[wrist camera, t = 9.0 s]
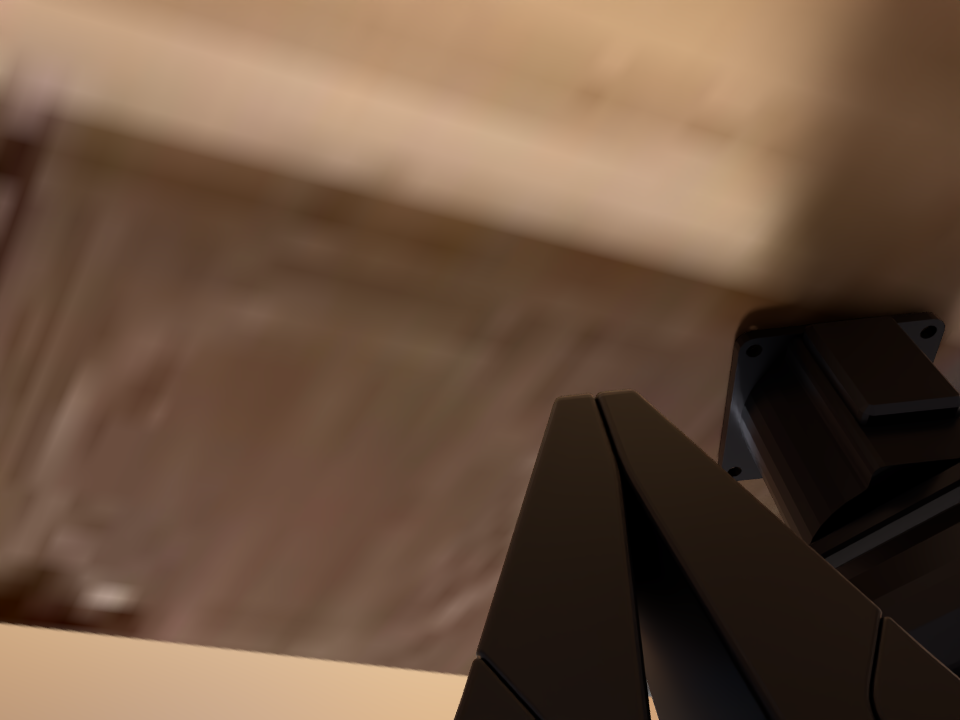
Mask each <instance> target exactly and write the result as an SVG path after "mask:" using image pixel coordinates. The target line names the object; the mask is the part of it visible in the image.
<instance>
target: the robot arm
mask: <svg viewBox="0 0 960 720" xmlns="http://www.w3.org/2000/svg"><path fill="white" fill-rule="evenodd" d="M927 326H928V328H927V329H925V330H923V329H924V328H925V327H927ZM922 330H923V331H922ZM944 330H945V325H944V323H943V321H942V320H941V319H940V318H939V317H938V316H937V315H936V314H934V313H932V312H922V313H913V314H904V315H894V316H882V317H873V318H864V319H854V320H845V321H836V322H827V323H817V324H811V325H802V326H793V327H784V328H774V329H765V330H756V331H750V332H746V333H744V334H743V335H741V336H740V337H739V338H738V339H737V340H736V343H735V345H734V352H733V359H732V366H731V373H730V381H729V388H728V395H727V402H726V409H725V416H724V423H723V430H722V437H721V444H720V451H719V458H718V464H717V463H716V462H715V461H714V460H713V459H712V458H711V457H710V456H708V455H707V454H706V453H705V452H704V451H703V450H702V449H701V448H699V447H698V446H697V445H696V444H695V443H694V442H693V441H692V440H690V439H689V438H688V437H687V436H686V435H685V434H684V433H683V432H682V431H680V430H679V429H678V428H677V427H676V426H675V425H674V424H673V423H671V422H670V421H669V420H668V419H667V418H666V417H665V416H664V415H662V414H661V413H660V412H659V411H658V410H657V409H656V408H655V407H654V406H652V405H651V404H650V403H649V402H648V401H647V400H646V399H645V398H643V397H642V396H641V395H640V394H639V393H638V392H636V391H634V390H632V389H623V390H614V391H605V392H600V393H598V394H597V395H596V397H594V396H593V395H591V394H588V393H586V394H577V395H568V396H560V397H558V398H557V399H556V400H555V402H554V404H553V408H552V411H551V414H550V417H549V421H548V424H547V427H546V430H545V433H544V437H543V440H542V443H541V446H540V449H539V453H538V456H537V459H536V462H535V465H534V469H533V472H532V475H531V478H530V482H529V485H528V488H527V491H526V494H525V498H524V501H523V504H522V507H521V510H520V514H519V517H518V520H517V523H516V526H515V530H514V533H513V536H512V539H511V543H510V546H509V549H508V552H507V555H506V559H505V562H504V565H503V568H502V571H501V575H500V578H499V581H498V584H497V587H496V591H495V594H494V597H493V600H492V603H491V607H490V610H489V613H488V616H487V620H486V623H485V626H484V629H483V632H482V636H481V639H480V642H479V645H478V648H477V652H476V655H477V659H475V660H474V661H473V663H472V666H471V669H470V672H469V676H468V679H467V682H466V685H465V689H464V692H463V695H462V698H461V701H460V704H459V707H458V709H457V712H456V715H455V718H454V720H651V715H650V708H649V699H648V690H647V683H648V686H649V690H650V693H651V696H652V699H653V702H654V705H655V709H656V712H657V715H658V718H659V720H960V393H959V392H958V391H957V390H956V389H955V388H954V387H953V385H952V384H951V383H950V382H949V381H948V380H947V379H946V378H945V376H944V375H943V374H942V373H941V372H940V371H939V370H938V369H937V367H936V366H935V365H934V364H933V362H934V359H935V356H936V353H937V350H938V347H939V345H940V342H941V339H942V336H943V333H944ZM755 344H756V345H757V346H756V347H755V348H753V349H751V350H747V349H748V348H749V347H750V346H752V345H755ZM733 467H734V468H733ZM760 478H763V479H764V481H765V483H766V485H767V487H768V489H769V491H770V494H771V496H772V498H773V500H774V502H775V504H776V506H777V508H778V510H779V512H780V514H781V516H782V518H783V520H784V522H785V523H783V522H782V521H781V520H780V519H779V518H778V517H777V516H776V515H775V514H773V513H772V512H771V511H770V510H769V509H768V508H767V507H766V506H764V505H763V504H762V503H761V502H760V501H759V500H758V499H757V498H755V497H754V496H753V495H752V494H751V493H750V492H749V491H748V490H746V489H745V488H744V487H743V486H742V485H741V484H740V483H739V482H738V481H740V480H750V479H760ZM646 680H647V682H646Z"/></svg>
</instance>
